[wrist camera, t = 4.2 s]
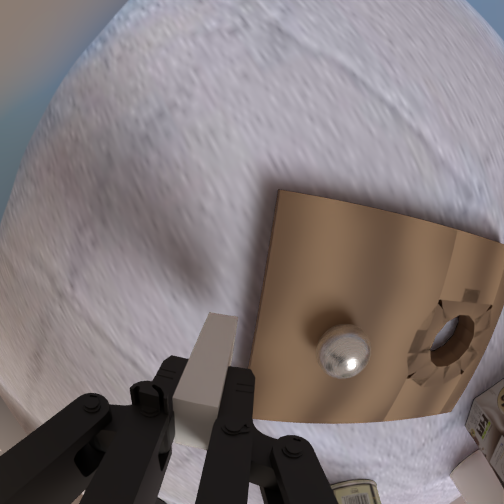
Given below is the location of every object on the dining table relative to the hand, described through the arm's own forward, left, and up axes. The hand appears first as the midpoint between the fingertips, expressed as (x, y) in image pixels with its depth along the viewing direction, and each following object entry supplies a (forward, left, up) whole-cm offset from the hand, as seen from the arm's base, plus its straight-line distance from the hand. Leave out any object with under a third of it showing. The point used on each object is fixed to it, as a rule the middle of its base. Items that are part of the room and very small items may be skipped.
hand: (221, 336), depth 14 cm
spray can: (+43, -26, -5) cm, 50 cm away
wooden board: (+12, 0, -4) cm, 13 cm away
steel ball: (+7, 0, 0) cm, 7 cm away
